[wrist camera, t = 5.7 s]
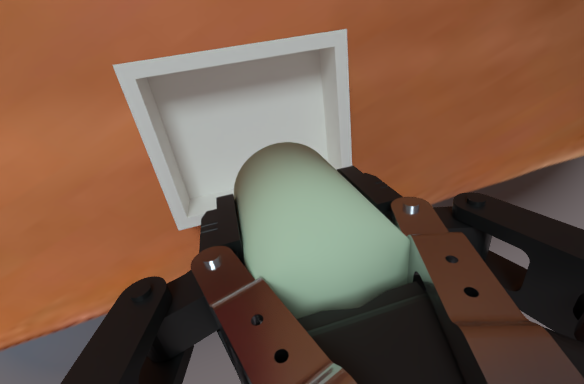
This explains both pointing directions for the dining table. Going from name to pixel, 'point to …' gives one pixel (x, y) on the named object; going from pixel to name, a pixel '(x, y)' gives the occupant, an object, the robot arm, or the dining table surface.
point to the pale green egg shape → (314, 232)
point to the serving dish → (237, 112)
